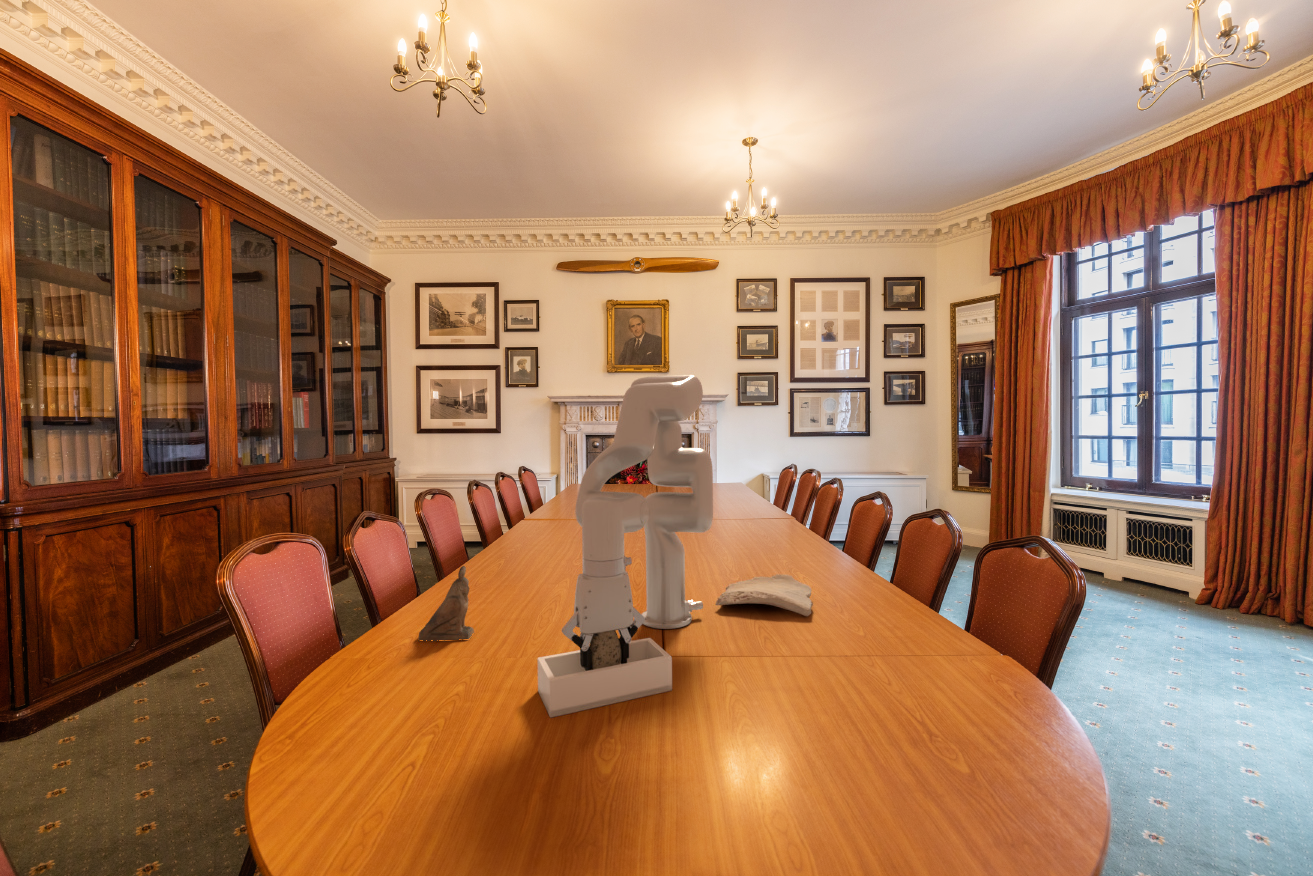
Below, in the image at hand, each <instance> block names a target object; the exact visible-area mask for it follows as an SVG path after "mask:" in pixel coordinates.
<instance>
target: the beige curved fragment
mask: <svg viewBox="0 0 1313 876" xmlns="http://www.w3.org/2000/svg"><path fill="white" fill-rule="evenodd" d="M811 595H812V587H811V586H809V585H808V584H806V583H803V582H800V581H798V580H797V579H795V578H794V577H793V576H792V575H790V574H777V573H776V574H775V575H772V576H754V577H753V578H751V579H746V580H742V581H736V582H735V583H734V582H733V583H730V584H728V586H727V587H725V592H722V593H721V594H720V595H719V597H718V598H717V600H716V602H715V606H724V605H738V604H739V605H741V604H759V605H769V606H772V607H773V606H774V607H777V608H780V609H784V610H788V611H791V612H793V613H796V614H799V615H802V616H804V617H809V616H810V615H811V614H812V606H814V604H813V602H812V600H811V599H810V597H811Z"/></svg>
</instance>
